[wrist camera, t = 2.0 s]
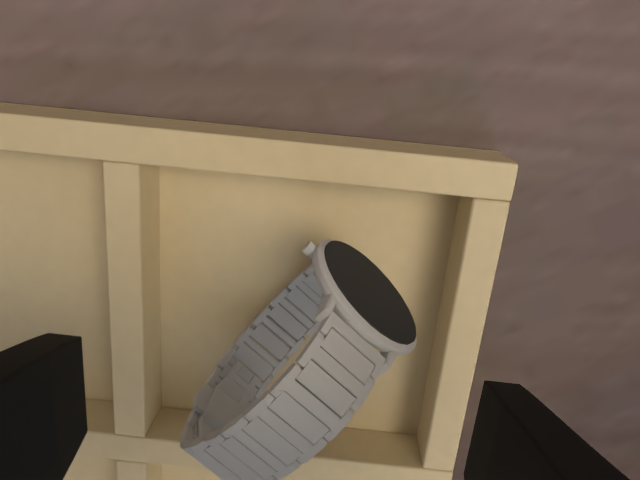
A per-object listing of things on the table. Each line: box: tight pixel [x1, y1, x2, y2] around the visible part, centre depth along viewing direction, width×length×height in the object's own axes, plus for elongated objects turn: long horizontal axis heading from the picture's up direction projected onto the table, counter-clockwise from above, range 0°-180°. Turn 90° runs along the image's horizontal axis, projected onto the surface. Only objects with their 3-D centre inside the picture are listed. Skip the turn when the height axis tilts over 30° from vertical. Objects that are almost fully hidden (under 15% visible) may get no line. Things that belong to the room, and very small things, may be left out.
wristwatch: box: [179, 239, 417, 480], centre depth 11 cm, size 3×5×5 cm, turn 136°
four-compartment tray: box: [0, 102, 518, 480], centre depth 14 cm, size 16×16×2 cm
